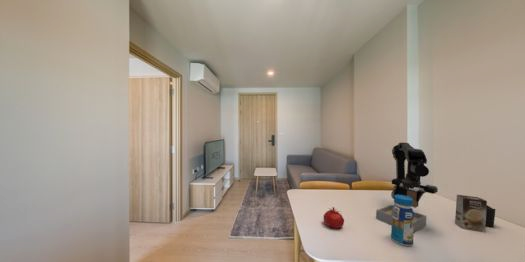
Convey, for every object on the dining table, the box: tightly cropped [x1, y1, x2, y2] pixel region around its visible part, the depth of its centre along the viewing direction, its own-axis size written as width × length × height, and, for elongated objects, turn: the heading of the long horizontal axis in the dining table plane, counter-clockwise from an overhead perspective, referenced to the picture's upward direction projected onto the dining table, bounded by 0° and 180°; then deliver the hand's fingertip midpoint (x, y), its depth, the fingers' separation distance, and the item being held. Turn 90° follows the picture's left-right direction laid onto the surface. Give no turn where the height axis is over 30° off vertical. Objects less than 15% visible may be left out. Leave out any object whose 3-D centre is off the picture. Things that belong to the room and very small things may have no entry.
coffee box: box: [454, 194, 488, 233], centre depth 99 cm, size 9×6×16 cm
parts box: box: [375, 204, 427, 233], centre depth 103 cm, size 17×17×5 cm
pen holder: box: [485, 204, 496, 228], centre depth 104 cm, size 9×9×10 cm
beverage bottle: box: [390, 195, 415, 247], centre depth 84 cm, size 8×8×20 cm
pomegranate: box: [323, 207, 345, 229], centre depth 96 cm, size 10×10×9 cm
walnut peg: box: [407, 189, 420, 209], centre depth 101 cm, size 4×4×8 cm
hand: (412, 200), depth 101 cm, fingers closed on walnut peg, 4 cm apart
